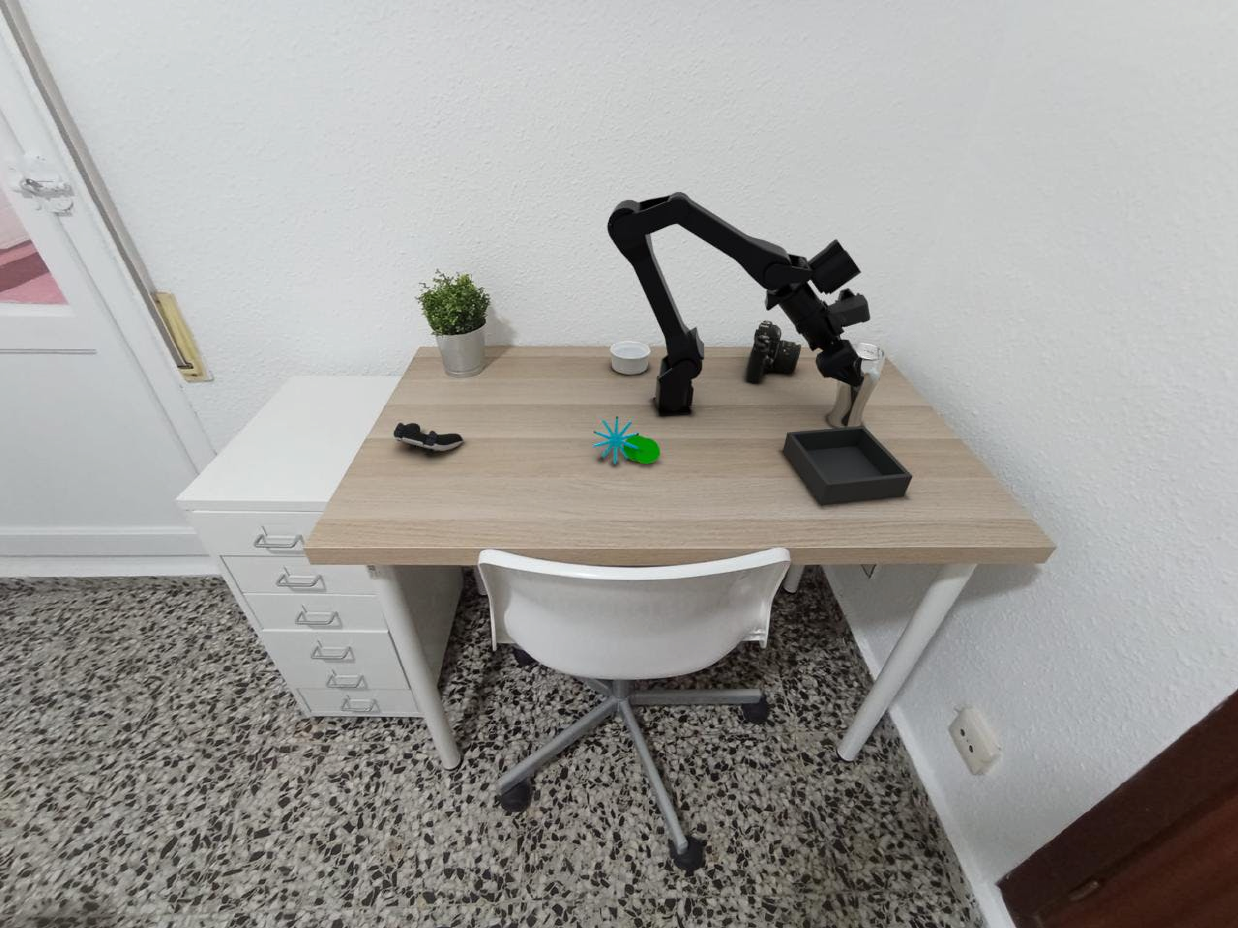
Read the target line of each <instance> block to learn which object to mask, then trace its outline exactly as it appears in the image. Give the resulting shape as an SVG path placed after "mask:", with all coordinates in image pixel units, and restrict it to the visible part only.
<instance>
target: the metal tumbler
mask: <svg viewBox="0 0 1238 928" xmlns="http://www.w3.org/2000/svg"><path fill="white" fill-rule="evenodd" d="M851 344H852V345H853V347H854V349H855V350H856V352H857V354H858V356H859V357H858V358H857V360H856V361H855V362H854V364H853V365H854V367H855V370H856V372H857V374H858V377H859V379H860V381H861V385H860V386H858V387H853V386H851V385H849V384H846V383H844V382H842V381H839V380H836V382H837V383H836V391H835V399H834V402H833V403H834V404H833V406H832V409H831V410H830V411H829V414H828V416H827V421H828V423H829V424H830V425H831V426H833V428H844V427H856V426H862V419H863V418H862V417H863V412H864V410H865V407H866V405H867V403H868V401H869V400H870V398H871V396H872V394H873V393H874V391H875V389H876V387H877V385H878V383H879V381H880V378H881V375H882V372H883V368H884V364H885V360H886V356H887V352H886V351H885V349H883V348H881V347H880V346H877V345H875V344H871V343H866V342H854V343H853V342H852V343H851Z"/></svg>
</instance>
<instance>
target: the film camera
mask: <svg viewBox="0 0 1238 928" xmlns="http://www.w3.org/2000/svg"><path fill="white" fill-rule="evenodd" d="M782 335H783V333H782V329H781V328H780V327H779V325H777V324H774V323H773V322H772V321H771V320H768V319H765V320H763V321H761V322H760V324H759V325H758V328H756V329H755V332H754V335H753V345H752V348H751V351H750V354H749V359H748V363H747V367H746V375H745V380H746V382H748V383H751V384H759V383H760V382H761V380H762V378H763V374H764V373H766V374H768V373H769V372H771V371H772V372H774V373H775V372H776V373H786V374H793V373H794V372H795V371H796V368H797V365H798V361H799V358H800V355H801V350H802V344H800V343H799V344H797V343H796V342H795V341H788V340H784V339H781V338H782Z"/></svg>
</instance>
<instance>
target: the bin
mask: <svg viewBox="0 0 1238 928" xmlns="http://www.w3.org/2000/svg"><path fill="white" fill-rule="evenodd" d="M782 454H783V455H784V457H785V458H786V460H787V461H788V463H790V465H791V466H792V468H793V469H794V470H795V472H796V474H797V475H798V476H799V477H800V479H801V481H802V482H803V483H804V485H805V486H806V487H807V489H808V490H809V492H811V494H812V496H813V497H814V499H815V500H816V501H817V503H818V504H819V506H827V505H836V504H837V505H838V504H846V503H856V502H865V501H874V500H882V499H883V500H884V499H892V498H901V497H905V496H906V493H907V490H908V488H909V486H910V484H911V481H912V480H913V477H914V475H912V474H911V473H910V471H908V469H907V468H906V467H904V465H903V464H902V463H901V462H900V461H899V460H898V459H897V458H896V457H895V456H894V455H893V454H892V453H891V452H890V451H889V450H888V449H887V448H886V447H885V446H884V445H883V444H882V443H881V442H880V441H879V440H878V438H876V436H875V435H874V434H872V432H871V431H870V430H869V429H868V428H867V427H866V426H865V425H860V426H856V427H844V428H836V427H833V428H823V429H812V430H800V431H787V433H786V436H785V440H784V444H783V448H782Z"/></svg>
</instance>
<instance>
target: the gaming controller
mask: <svg viewBox="0 0 1238 928" xmlns="http://www.w3.org/2000/svg"><path fill="white" fill-rule="evenodd" d="M392 435H393V436H392V437H393V438H394V439H395V440H396V441H397V442H401V443H404V444H409V445H410V448H412V449H415V450H417V449H418V448H419V447H421V448H425V449H426V451H427V453H432V454H435V452H443V451H448V450H452V449H454V448H456V447H458V446H460V445H461V444H462V443H463V442H464V438H463V436H462V435H461V434H459V433H449V432H448V433H441V434H440V433H439V434H438V433H437V432H436V431H434V430H429V433H424V432H421V426H420V424H418V423H416V422H411V423H407V424H404V423H402V422H399V423H397V425H396V427H395V429H394V430H393V434H392Z"/></svg>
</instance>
